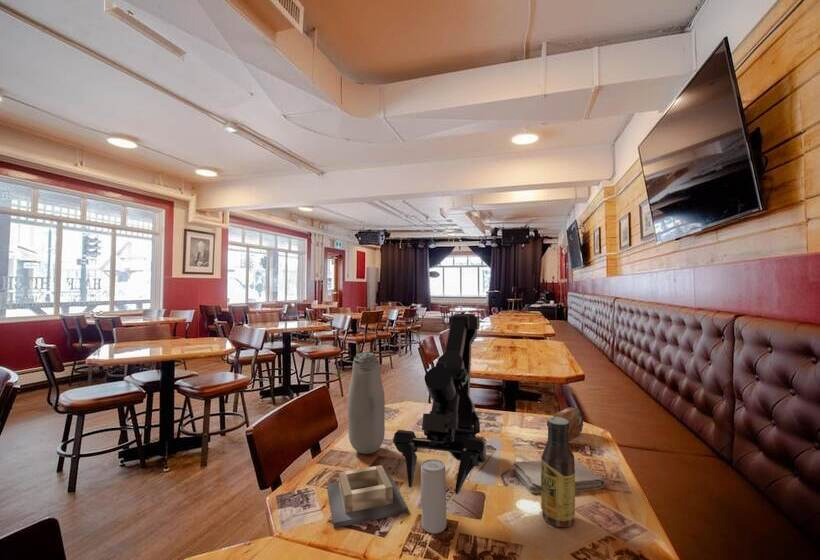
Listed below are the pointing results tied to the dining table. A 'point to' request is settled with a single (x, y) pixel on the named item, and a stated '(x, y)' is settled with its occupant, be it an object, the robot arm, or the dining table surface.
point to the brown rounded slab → (572, 421)
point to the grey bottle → (366, 404)
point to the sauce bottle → (558, 475)
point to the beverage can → (433, 496)
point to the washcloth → (532, 476)
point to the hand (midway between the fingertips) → (432, 490)
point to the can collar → (364, 496)
